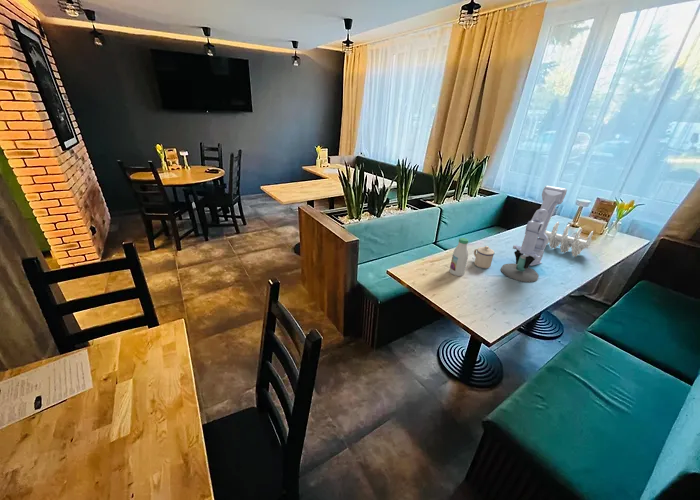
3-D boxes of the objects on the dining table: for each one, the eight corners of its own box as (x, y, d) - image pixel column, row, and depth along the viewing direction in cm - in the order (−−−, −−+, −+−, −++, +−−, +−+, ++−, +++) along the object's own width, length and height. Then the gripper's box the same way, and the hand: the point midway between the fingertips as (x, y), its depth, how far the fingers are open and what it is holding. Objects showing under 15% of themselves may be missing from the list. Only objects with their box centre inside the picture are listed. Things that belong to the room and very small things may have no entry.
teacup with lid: (494, 267, 165) (499, 248, 159) (482, 270, 161) (487, 251, 156) (478, 257, 174) (482, 240, 169) (466, 260, 171) (470, 242, 166)
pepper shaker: (519, 266, 161) (523, 253, 157) (526, 270, 157) (531, 257, 154) (514, 268, 159) (518, 255, 155) (521, 272, 155) (525, 259, 152)
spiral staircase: (541, 248, 197) (585, 261, 179) (533, 243, 185) (580, 257, 167) (552, 222, 195) (598, 233, 177) (545, 216, 183) (594, 227, 165)
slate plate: (516, 262, 170) (517, 261, 169) (545, 278, 155) (546, 276, 155) (493, 268, 163) (494, 266, 163) (521, 285, 149) (522, 283, 148)
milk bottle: (464, 270, 160) (471, 237, 151) (464, 277, 154) (472, 243, 145) (449, 268, 163) (456, 235, 154) (448, 274, 156) (455, 241, 147)
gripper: (511, 238, 155) (505, 261, 162) (536, 250, 144) (528, 273, 150) (521, 236, 158) (514, 258, 164) (546, 248, 146) (537, 271, 152)
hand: (521, 265), depth 157 cm, fingers closed on pepper shaker, 4 cm apart
